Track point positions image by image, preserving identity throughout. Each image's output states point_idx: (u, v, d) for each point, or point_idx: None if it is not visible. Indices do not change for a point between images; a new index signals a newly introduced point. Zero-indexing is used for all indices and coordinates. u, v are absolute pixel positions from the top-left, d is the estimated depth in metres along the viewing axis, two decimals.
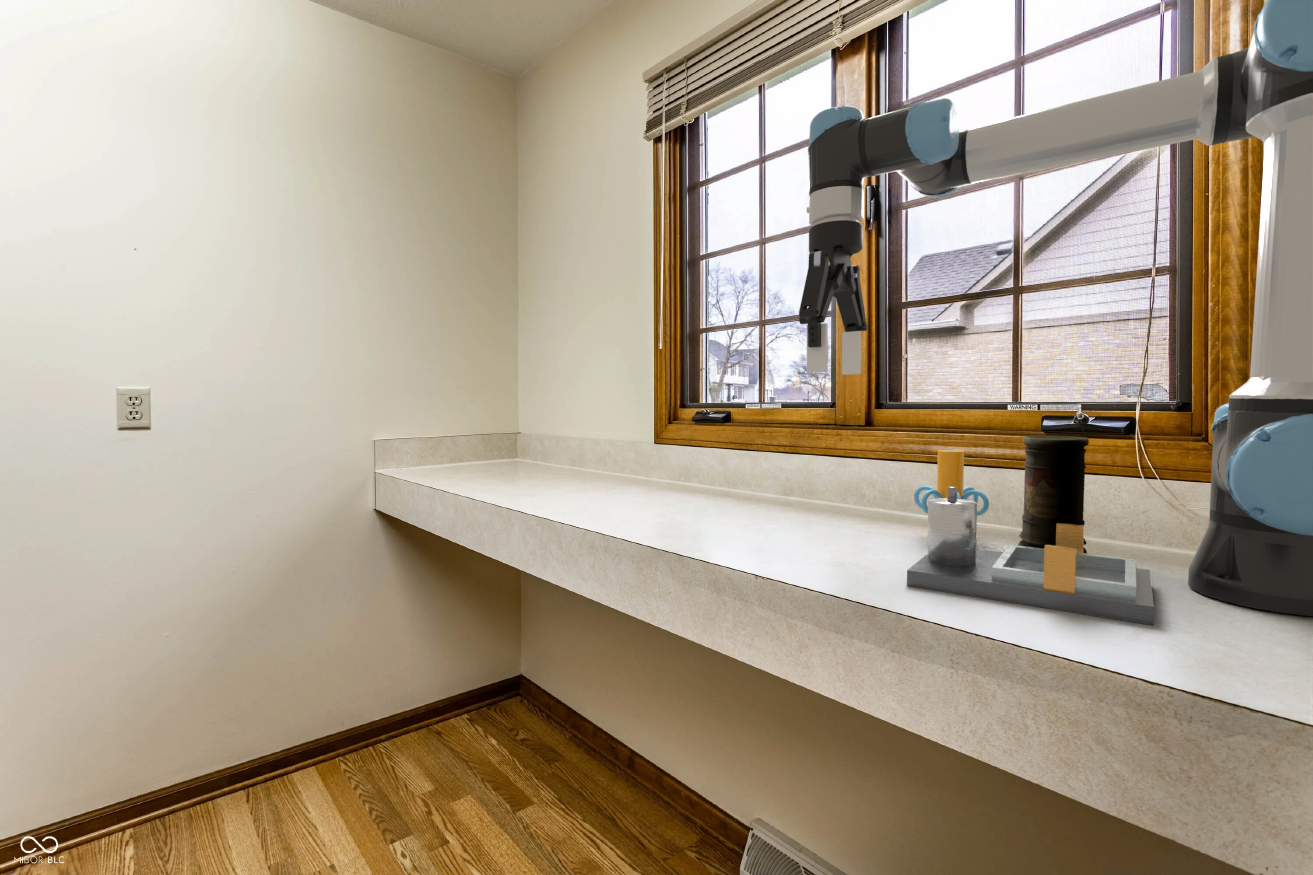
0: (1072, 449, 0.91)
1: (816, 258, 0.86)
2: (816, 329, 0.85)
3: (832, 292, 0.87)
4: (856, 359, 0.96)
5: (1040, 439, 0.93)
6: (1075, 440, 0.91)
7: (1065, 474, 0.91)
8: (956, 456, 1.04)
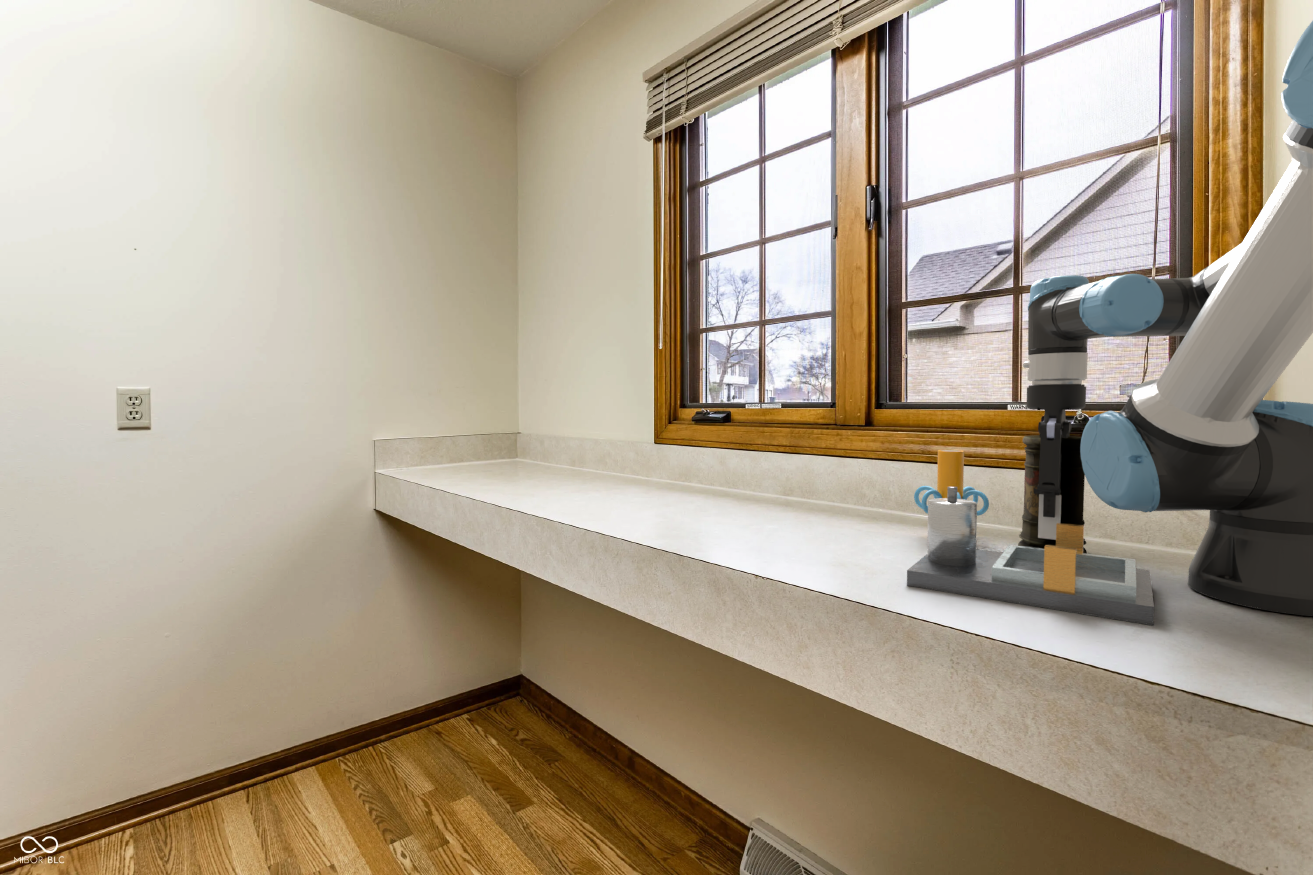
0: (1071, 449, 0.91)
1: (1049, 431, 0.89)
2: (1053, 502, 0.90)
3: None
4: None
5: (1040, 439, 0.93)
6: (1075, 440, 0.91)
7: (1065, 474, 0.91)
8: (956, 456, 1.04)
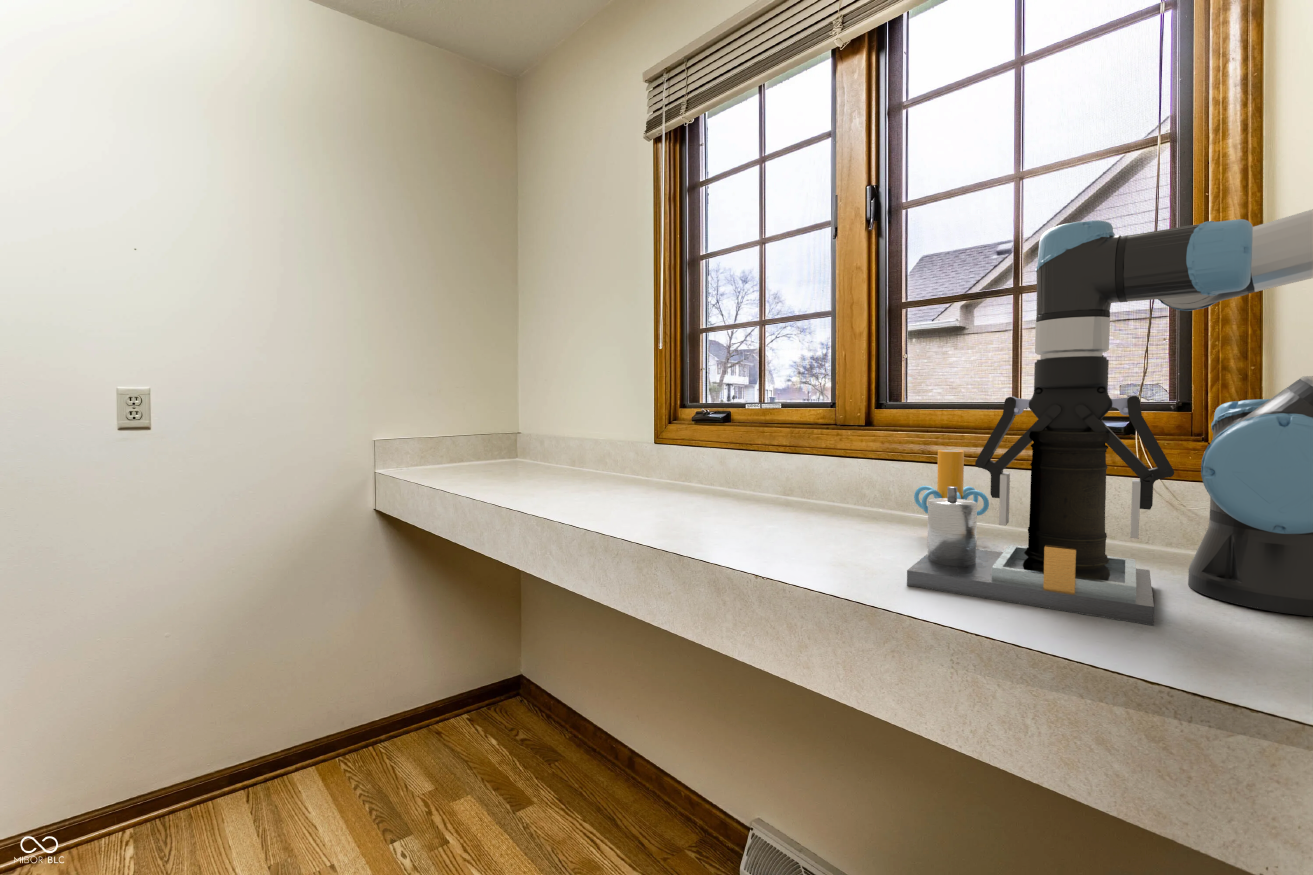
0: (1039, 444, 0.77)
1: None
2: None
3: (1026, 440, 0.79)
4: (1131, 518, 0.73)
5: None
6: (1037, 433, 0.77)
7: (1033, 472, 0.78)
8: (956, 456, 1.04)
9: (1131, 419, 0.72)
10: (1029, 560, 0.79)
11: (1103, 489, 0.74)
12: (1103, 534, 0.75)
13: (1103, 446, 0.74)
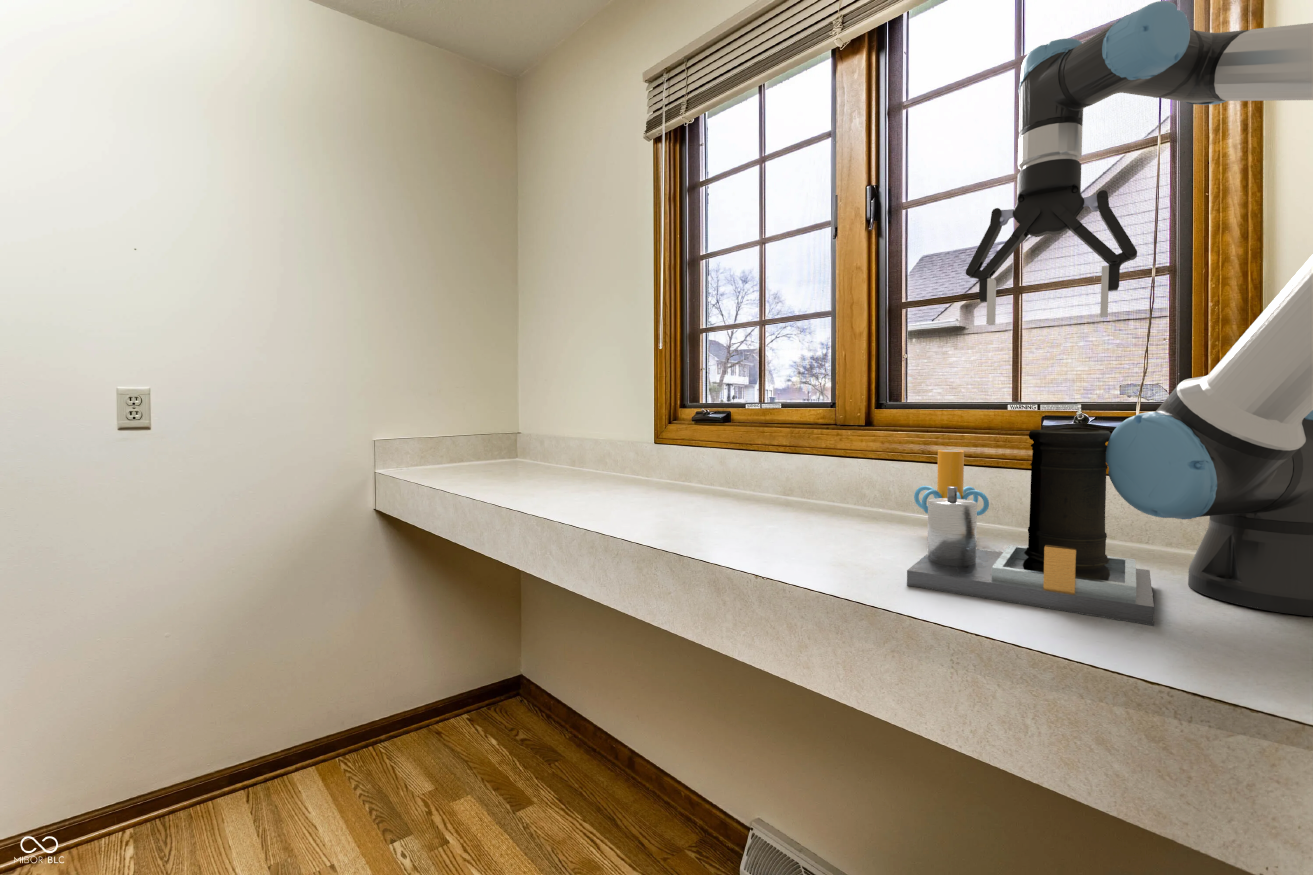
0: (1039, 444, 0.77)
1: None
2: (979, 286, 0.93)
3: (1010, 244, 0.90)
4: None
5: None
6: (1037, 433, 0.77)
7: (1033, 472, 0.78)
8: (956, 456, 1.04)
9: (1100, 211, 0.83)
10: (1029, 560, 0.79)
11: (1103, 489, 0.74)
12: (1103, 534, 0.75)
13: (1104, 446, 0.74)
